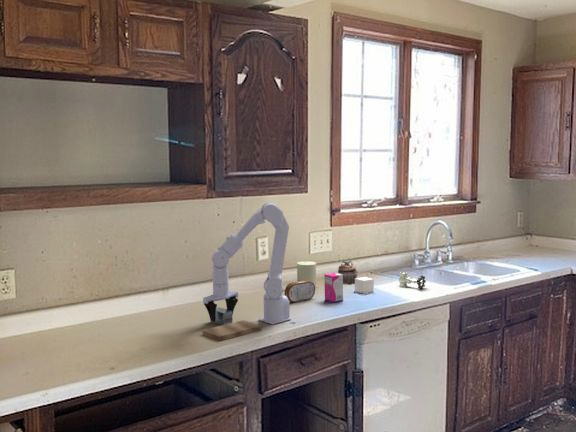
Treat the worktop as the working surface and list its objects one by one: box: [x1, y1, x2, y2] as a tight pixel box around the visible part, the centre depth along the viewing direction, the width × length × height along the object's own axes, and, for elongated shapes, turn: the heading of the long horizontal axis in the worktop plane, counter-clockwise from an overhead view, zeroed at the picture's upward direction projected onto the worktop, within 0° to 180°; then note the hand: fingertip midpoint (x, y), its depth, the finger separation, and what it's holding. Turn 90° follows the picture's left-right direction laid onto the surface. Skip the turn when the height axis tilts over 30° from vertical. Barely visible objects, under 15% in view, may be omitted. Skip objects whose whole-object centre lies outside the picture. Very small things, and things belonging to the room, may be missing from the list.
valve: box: [398, 271, 427, 290], centre depth 272 cm, size 7×7×12 cm
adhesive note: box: [354, 276, 375, 294], centre depth 264 cm, size 6×6×6 cm
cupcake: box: [337, 260, 359, 284], centre depth 285 cm, size 10×10×10 cm
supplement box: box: [323, 272, 344, 304], centre depth 248 cm, size 6×6×12 cm
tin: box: [284, 280, 316, 303], centre depth 249 cm, size 15×3×8 cm, turn 126°
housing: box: [210, 306, 233, 326], centre depth 217 cm, size 4×8×5 cm, turn 44°
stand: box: [202, 319, 262, 342], centre depth 205 cm, size 18×10×2 cm, turn 132°
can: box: [296, 260, 317, 289], centre depth 273 cm, size 9×9×12 cm
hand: (221, 319), depth 217 cm, fingers open, 7 cm apart
